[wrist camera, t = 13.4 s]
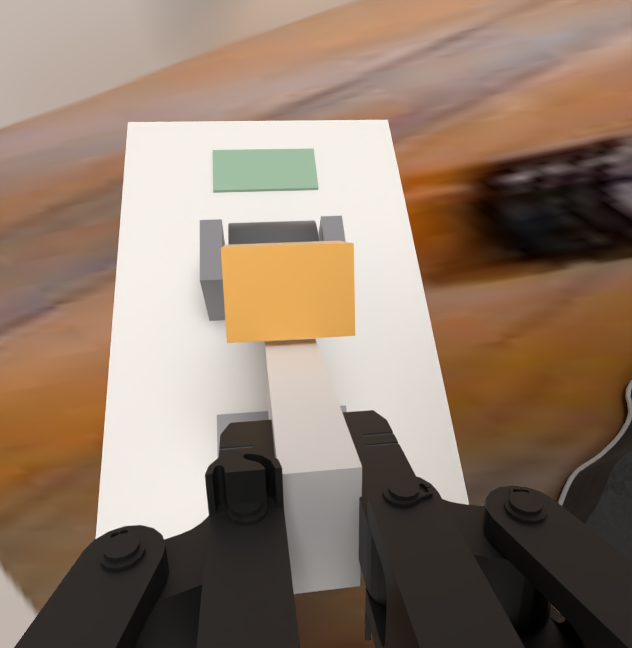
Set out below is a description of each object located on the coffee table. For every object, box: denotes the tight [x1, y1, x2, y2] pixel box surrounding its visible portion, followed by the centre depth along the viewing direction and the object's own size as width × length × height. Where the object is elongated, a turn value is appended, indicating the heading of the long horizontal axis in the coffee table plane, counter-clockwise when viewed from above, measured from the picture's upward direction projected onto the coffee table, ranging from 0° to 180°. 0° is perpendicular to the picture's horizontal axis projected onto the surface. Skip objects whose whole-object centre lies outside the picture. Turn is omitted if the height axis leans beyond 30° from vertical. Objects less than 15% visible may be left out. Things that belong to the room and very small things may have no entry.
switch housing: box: [96, 120, 469, 539], centre depth 28 cm, size 16×24×10 cm, turn 5°
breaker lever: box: [221, 220, 355, 343], centre depth 20 cm, size 4×4×13 cm
